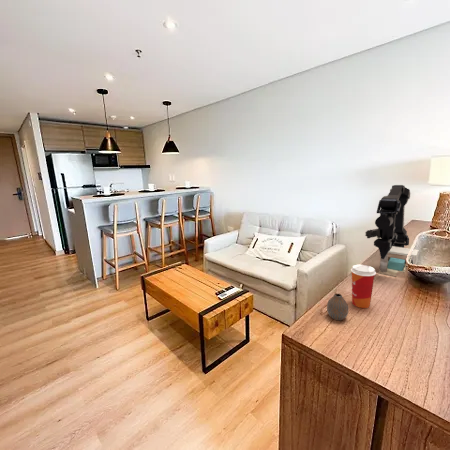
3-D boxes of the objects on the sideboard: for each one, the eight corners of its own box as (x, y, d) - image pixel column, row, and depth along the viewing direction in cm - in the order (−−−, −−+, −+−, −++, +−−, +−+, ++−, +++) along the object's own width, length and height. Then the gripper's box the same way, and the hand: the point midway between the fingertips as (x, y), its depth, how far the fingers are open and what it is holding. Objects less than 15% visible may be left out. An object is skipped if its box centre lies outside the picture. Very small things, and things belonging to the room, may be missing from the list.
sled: (384, 264, 128) (386, 243, 125) (407, 268, 121) (409, 246, 119) (378, 273, 118) (380, 250, 116) (402, 278, 112) (404, 254, 109)
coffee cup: (353, 296, 100) (355, 262, 96) (376, 303, 94) (379, 267, 91) (345, 305, 94) (347, 268, 91) (369, 312, 88) (372, 274, 85)
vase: (322, 315, 88) (323, 293, 87) (336, 309, 91) (336, 288, 89) (338, 325, 82) (339, 301, 80) (352, 319, 85) (353, 296, 83)
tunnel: (385, 259, 136) (386, 245, 135) (417, 264, 127) (418, 249, 125) (381, 264, 129) (382, 250, 128) (414, 270, 120) (416, 255, 118)
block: (390, 264, 125) (390, 257, 124) (404, 267, 121) (405, 259, 120) (387, 268, 121) (388, 260, 120) (402, 271, 117) (403, 263, 116)
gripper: (372, 219, 125) (370, 248, 129) (362, 226, 112) (360, 258, 115) (398, 221, 118) (395, 252, 121) (391, 229, 105) (388, 263, 108)
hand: (384, 256), depth 117 cm, fingers open, 8 cm apart
